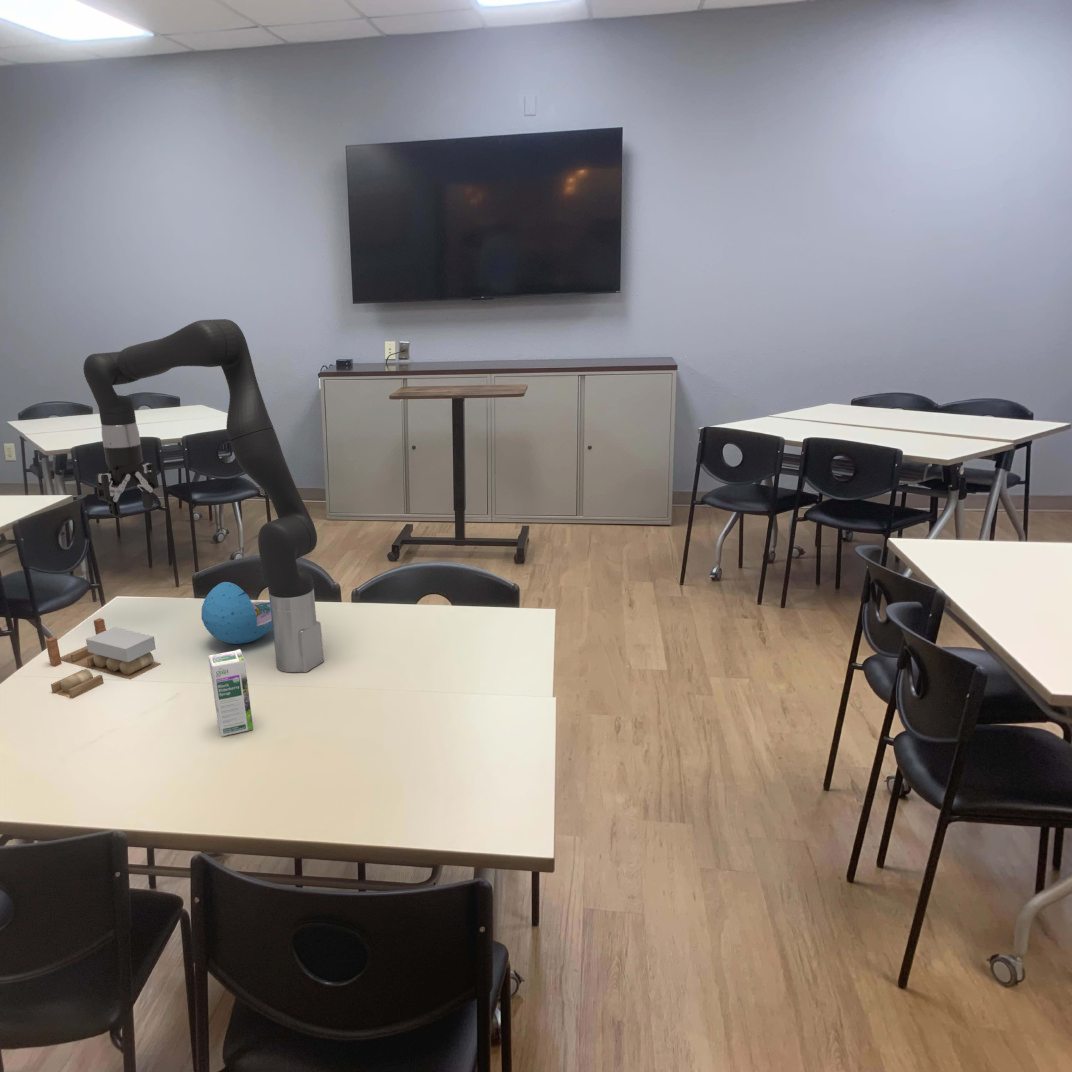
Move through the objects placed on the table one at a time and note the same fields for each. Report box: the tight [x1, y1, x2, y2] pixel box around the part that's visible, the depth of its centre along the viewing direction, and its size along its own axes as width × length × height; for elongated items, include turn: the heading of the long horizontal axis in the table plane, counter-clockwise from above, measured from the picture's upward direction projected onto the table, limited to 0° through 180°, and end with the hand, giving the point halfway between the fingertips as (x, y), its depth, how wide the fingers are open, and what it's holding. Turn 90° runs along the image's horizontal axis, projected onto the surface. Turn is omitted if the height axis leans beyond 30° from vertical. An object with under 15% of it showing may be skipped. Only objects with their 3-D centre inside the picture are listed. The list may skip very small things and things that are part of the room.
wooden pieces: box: [45, 617, 162, 699], centre depth 172 cm, size 23×21×7 cm
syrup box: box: [208, 648, 254, 738], centre depth 150 cm, size 6×6×14 cm
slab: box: [85, 626, 156, 662], centre depth 172 cm, size 12×7×3 cm, turn 65°
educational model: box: [201, 581, 273, 645], centre depth 187 cm, size 16×19×15 cm
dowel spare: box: [61, 668, 94, 693], centre depth 164 cm, size 3×5×3 cm, turn 155°
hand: (132, 512), depth 186 cm, fingers open, 8 cm apart
